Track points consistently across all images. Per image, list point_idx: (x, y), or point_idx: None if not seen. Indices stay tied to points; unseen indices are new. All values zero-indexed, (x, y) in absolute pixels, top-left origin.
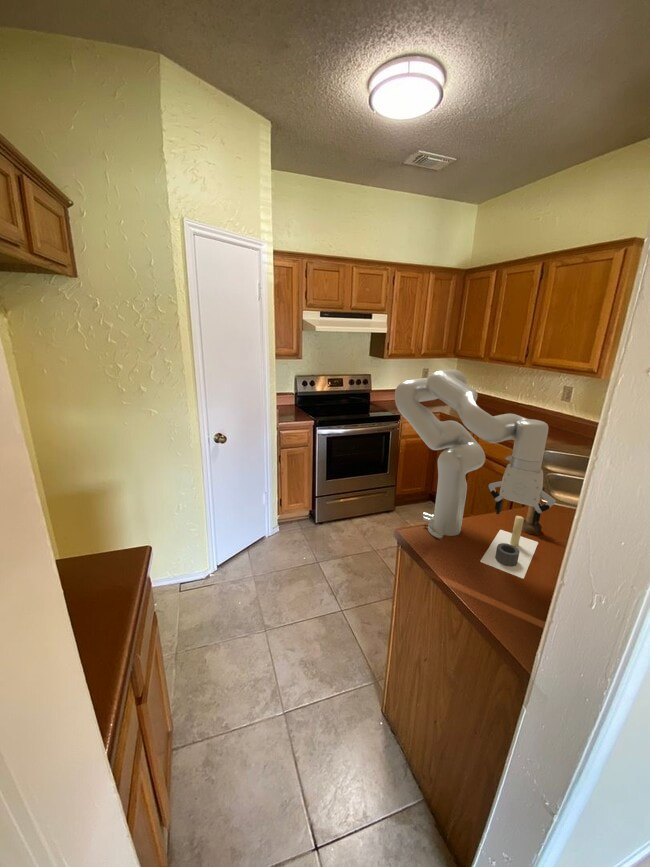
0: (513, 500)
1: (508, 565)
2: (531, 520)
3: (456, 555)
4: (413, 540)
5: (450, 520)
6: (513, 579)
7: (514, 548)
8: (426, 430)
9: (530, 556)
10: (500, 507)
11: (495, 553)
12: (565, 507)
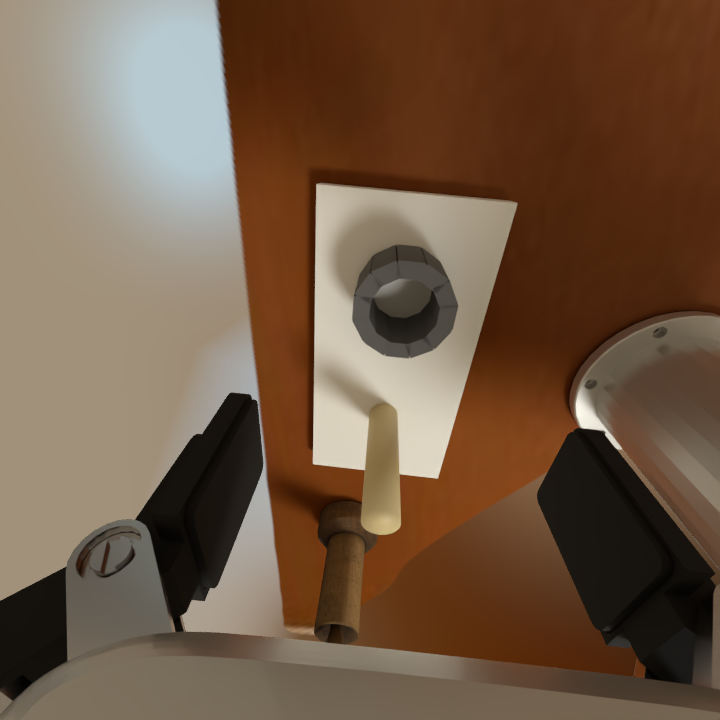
0: (576, 708)
1: (388, 249)
2: (346, 548)
3: (621, 222)
4: None
5: None
6: None
7: (377, 335)
8: None
9: (320, 370)
10: (589, 512)
11: None
12: (288, 625)
